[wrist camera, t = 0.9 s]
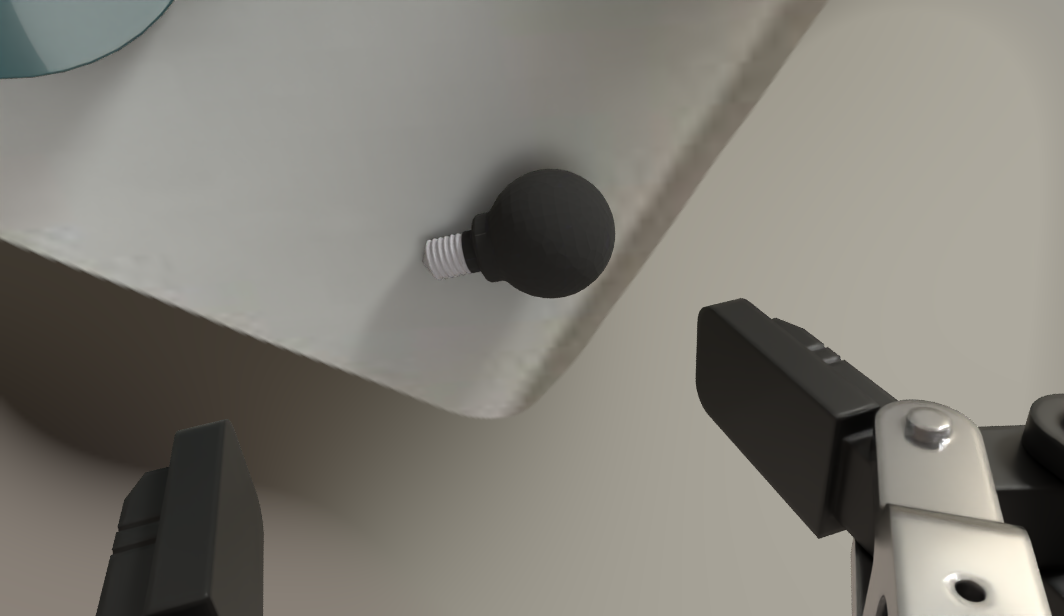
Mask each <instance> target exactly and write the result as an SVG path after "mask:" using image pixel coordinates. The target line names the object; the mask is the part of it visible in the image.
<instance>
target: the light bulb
mask: <svg viewBox="0 0 1064 616" xmlns="http://www.w3.org/2000/svg"><path fill="white" fill-rule="evenodd" d="M614 241H615V225H614V220H613V216H612V213H611V210H610V208H609V205H608V203H607V202H606V200H605V198H604V197H603V195H602V194H601V193H600V191H599V190H598V189H597V188H596V187H595V186H593V185H592V184H591V183H590V182H588V181H587V180H586V179H584V178H582V177H581V176H579V175H576V174H574V173H571V172H568V171H564V170H558V169H544V170H538V171H534V172H531V173H528V174H525V175H523V176H521V177H519V178H518V179H516V180H515V181H513V182H512V183H511V184H509V185H508V186H507V187H506V188H505V189H504V190H503V191H502V193H501V194H500V195H499V196H498V198H497V199H496V201H495V203H494V205H493V207H492V209H491V210H490V211H489V212H487V213H483V214H479V215H477V216H475V218H474V219H473V223H472V230H469V231H465V232H462V234H461V235H460V234H459V233H457V234H456V235H455V236H454V235H453V234H452V235H450V237H448V236H445V237H444V238H442V237H439V238H438V240H437V239H435V238H434V239H433V240H432V241H431V240H428V241H427V242H426V247H425V252H424V257H423V263H424V264H425V266H426V267H427V268H428V269H429V271H430V272H431V273H432V274H433V276H434V277H435V278H436V279H438V280H442V279H443V278H444V279H447V278H449V277H451V278H453V277H454V276H459V275H465V274H466V273H468V274H471V273H475V272H480V271H481V272H482V274H483V275H484V277H485V278H486V279H487V280H488V281H490V282H498V281H507V282H508V283H510V284H511V285H512V286H513V287H515V288H517V289H518V290H520V291H522V292H524V293H527V294H529V295H532V296H536V297H542V298H560V297H566V296H569V295H572V294H575V293H577V292H579V291H581V290H583V289H585V288H586V287H587V286H589V285H590V284H591V283H592V282H594V281H595V280H596V279H597V278H598V277H599V275H600V274H601V273H602V272H603V271H604V269H605V267H606V266H607V264H608V262H609V260H610V257H611V254H612V251H613V248H614Z"/></svg>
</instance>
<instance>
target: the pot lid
mask: <svg viewBox="0 0 1064 616" xmlns="http://www.w3.org/2000/svg"><path fill="white" fill-rule="evenodd" d="M174 1H175V0H0V79H13V78H33V77H39V76H45V75H51V74H56V73H62V72H66V71H70V70H73V69H76V68H79V67H82V66H85V65H88V64H91V63H94V62H96V61H98V60H100V59H102V58H104V57H107V56H109V55H111V54H113V53H115V52H117V51H119V50H120V49H122V48H123V47H125V46H126V45H128V44H129V43H131V42H132V41H134V40H135V39H137V38H138V37H139V36H141V35H142V34H144V33H145V32H146V31H147V30H148V29H149V28H150V27H151V26H152V25H153V24H154V23H155V22H157V21H158V20H159V19H160V18H161V17H162V16H163V15H164V14H165V13H166V11H167V10H168V9H169V8H170V6H171V5H172V4H173V2H174Z"/></svg>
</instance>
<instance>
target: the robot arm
mask: <svg viewBox="0 0 1064 616" xmlns="http://www.w3.org/2000/svg"><path fill="white" fill-rule="evenodd" d="M696 388H697V392H698V396H699V399H700V401H701V404H702V406H703V408H704V409H705V411H706V412H707V413H708V415H709V416H710V417H711V418H712V419H713V421H714V422H715V423H716V424H717V425H718V426H719V427H720V428H721V429H722V430H723V432H724V433H725V434H726V435H727V436H728V437H729V439H730V440H731V441H732V442H733V443H734V444H735V445H736V446H737V447H738V449H739V450H740V451H741V452H742V453H743V454H744V455H745V456H746V458H747V459H748V460H749V461H750V462H751V463H752V464H753V466H755V468H756V469H757V470H758V471H759V472H760V473H761V475H762V476H763V477H764V478H765V479H766V480H767V481H768V482H769V484H770V485H771V486H772V487H773V488H774V489H775V490H776V491H777V493H779V495H780V496H781V497H782V498H783V499H784V500H785V502H786V503H787V504H788V505H789V506H790V507H791V508H792V509H793V511H794V512H795V513H796V514H797V515H798V516H799V517H800V518H801V519H802V521H803V522H804V523H805V524H806V525H807V526H808V527H809V528H810V530H811V531H812V532H813V533H814V534H815V535H816V536H817V538H818V539H819V538H822V537H826V536H828V535H832V534H835V533H838V532H841V531H844V530H847V531H848V532H849V533H850V534H851V535H852V536H853V537H854V538H853V543H852V549H851V588H852V590H851V591H852V616H1064V394H1052V395H1047V396H1044V397H1041V398H1039V399H1038V400H1036V401H1035V402H1034V403H1033V404H1032V406H1031V408H1030V412H1029V415H1028V418H1027V421H1026V425H1017V426H1016V425H1015V426H990V427H977V426H976V424H975V423H974V422H973V421H972V420H971V419H969V418H968V417H967V416H965V415H964V414H962V413H960V412H959V411H957V410H954V409H952V408H950V407H948V406H945V405H942V404H938V403H935V402H929V401H924V400H900V401H898V400H896V399H895V398H894V397H892V396H891V395H890V394H889V393H887V392H886V391H885V390H883V389H882V388H881V387H879V386H878V385H876V384H875V383H874V382H873V381H872V380H870V379H869V378H868V377H866V376H865V375H863V374H862V373H861V372H860V371H858V370H857V369H856V368H854V367H853V366H852V365H850V364H849V363H848V362H846V361H845V360H841V359H840V356H839V355H837V354H836V353H835V352H833V351H832V350H831V349H830V348H828V347H827V348H825V347H824V344H823V343H822V342H820V341H819V340H818V339H816V338H815V337H814V336H813V335H811V334H810V333H808V332H807V331H806V330H805V329H803V328H800V327H798V326H795V325H793V324H790V323H788V322H785V321H783V320H780V319H777V318H773V319H771V318H769V317H768V316H767V315H766V314H764V313H763V312H762V311H760V310H759V309H758V308H756V307H755V306H754V305H753V304H752V303H750V302H749V301H748V300H746V299H743V298H740V299H736V300H731V301H727V302H723V303H719V304H715V305H710V306H707V307H703V308H702V309H701V310H700V312H699V315H698V322H697V353H696ZM118 529H119V532H116V536H115V540H114V544H113V548H112V550H113V555H111V556H110V560H109V564H108V568H107V572H106V576H105V580H104V585H103V588H102V593H101V597H100V601H99V605H98V609H97V613H96V616H263V544H264V541H263V540H264V539H263V538H264V532H263V521H262V515H261V509H260V505H259V501H258V497H257V494H256V491H255V488H254V485H253V482H252V479H251V476H250V473H249V471H248V468H247V465H246V462H245V459H244V456H243V454H242V450H241V447H240V445H239V442H238V439H237V436H236V433H235V431H234V428H233V426H232V424H231V422H230V421H229V420H228V419H226V420H221V421H217V422H213V423H209V424H205V425H200V426H196V427H192V428H188V429H184V430H179V431H177V432H176V434H175V437H174V443H173V449H172V454H171V460H170V465H169V467H166V468H162V469H158V470H154V471H150V472H146V473H145V474H144V475H143V476H142V478H141V479H140V480H139V481H138V483H137V484H136V485H135V487H134V488H133V490H132V491H131V492H130V493H129V495H128V496H127V497H126V498H125V500H124V503H123V507H122V512H121V516H120V520H119V524H118Z"/></svg>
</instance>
